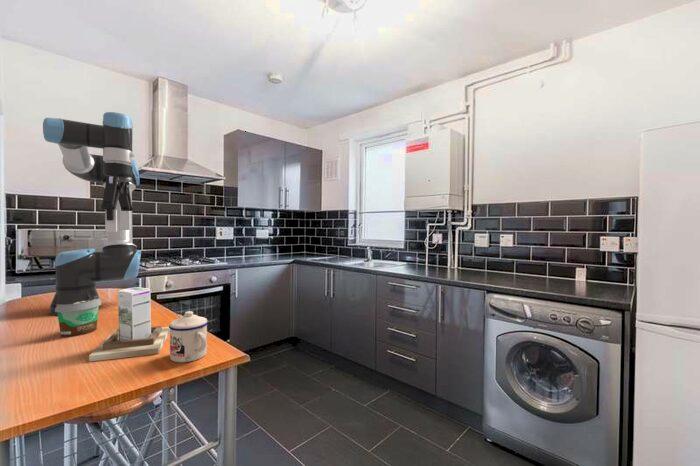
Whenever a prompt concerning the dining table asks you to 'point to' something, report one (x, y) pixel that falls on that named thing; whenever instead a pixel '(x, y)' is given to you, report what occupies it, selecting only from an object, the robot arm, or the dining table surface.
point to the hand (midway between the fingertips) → (118, 231)
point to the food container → (78, 317)
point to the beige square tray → (130, 345)
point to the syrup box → (134, 313)
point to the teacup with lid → (188, 338)
